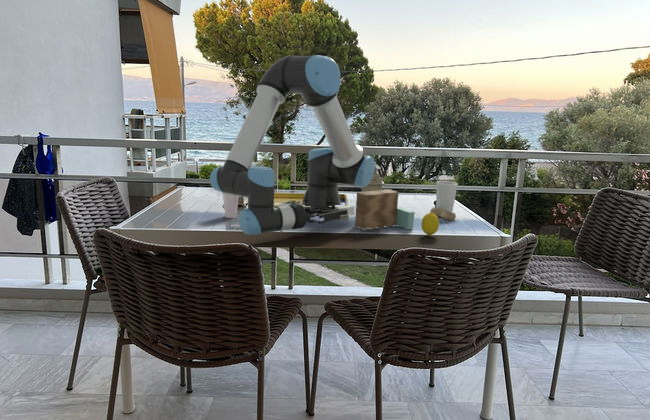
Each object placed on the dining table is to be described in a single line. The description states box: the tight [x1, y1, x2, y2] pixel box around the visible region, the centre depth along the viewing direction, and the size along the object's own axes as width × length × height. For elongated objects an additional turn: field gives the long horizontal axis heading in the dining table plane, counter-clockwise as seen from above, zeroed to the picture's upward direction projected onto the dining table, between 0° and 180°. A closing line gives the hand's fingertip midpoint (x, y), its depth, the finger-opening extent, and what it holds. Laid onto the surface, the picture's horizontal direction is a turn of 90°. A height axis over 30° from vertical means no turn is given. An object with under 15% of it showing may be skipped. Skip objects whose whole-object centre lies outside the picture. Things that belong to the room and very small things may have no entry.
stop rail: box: [396, 205, 415, 230], centre depth 174 cm, size 2×16×6 cm, turn 32°
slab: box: [354, 189, 399, 229], centre depth 169 cm, size 14×5×12 cm, turn 124°
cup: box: [435, 180, 458, 213], centre depth 192 cm, size 8×8×12 cm
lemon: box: [420, 211, 440, 237], centre depth 160 cm, size 6×6×8 cm
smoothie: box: [221, 192, 240, 219], centre depth 172 cm, size 6×6×14 cm
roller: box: [430, 206, 457, 221], centre depth 187 cm, size 10×3×3 cm
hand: (352, 210), depth 163 cm, fingers closed
